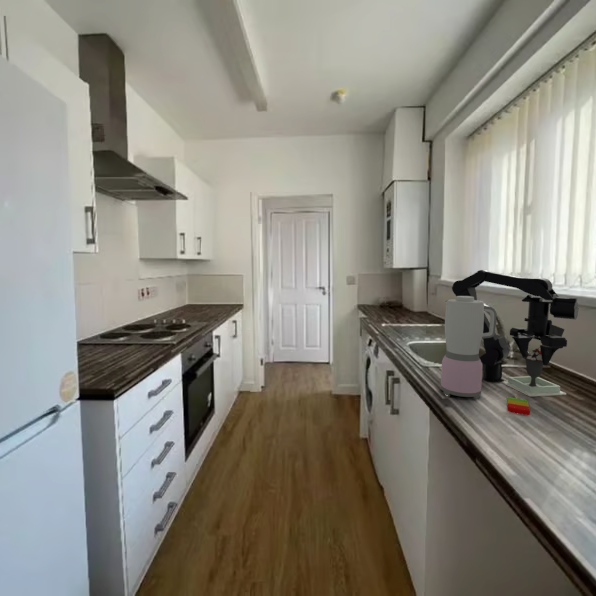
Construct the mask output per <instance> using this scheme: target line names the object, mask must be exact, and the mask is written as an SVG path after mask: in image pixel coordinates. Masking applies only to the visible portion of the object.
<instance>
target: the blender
mask: <svg viewBox="0 0 596 596" xmlns="http://www.w3.org/2000/svg"><path fill="white" fill-rule="evenodd" d="M443 302H444V303H445V314H444V338H445V346H446V351H445V355H444V356H443V357H442V361H441V370H440V371H441V373H440V385H439V386H440V387H439V388H440V390H441V391H442V392H443V395H444V394H446V395H448V396H450V397H451V396H457V397H463V398H473V400H475V401H476V400H479V399H480V396H481V395H482V382H483V381H482V380H483V379H485V378H486V372H485V371H484V370H482V363H481V360H480V358H479V357H480V355H479V354H480V353H479V352H480V347H481V343H482V341H483V339H484V338H491V337H493V336H494V334H495V333H496V326H497V311H496V310H495V308H493V307H491V306H489V305H488V306H487V305H485V303H484V301H482V300H478V299H477V300H474V297H471V296H456V299H455V298H451V299H448V300H443ZM485 312H488V313H489V316H490V317H489V318H490V319H489V323H490V328H489V332H488V333H483V325H484V313H485Z"/></svg>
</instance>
